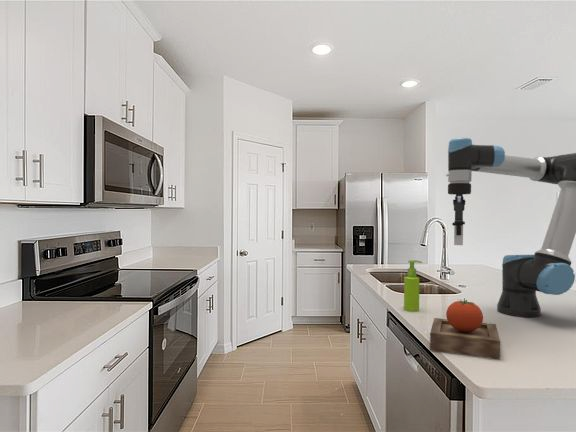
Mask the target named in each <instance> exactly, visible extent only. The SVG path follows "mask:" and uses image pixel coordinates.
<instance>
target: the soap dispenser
mask: <svg viewBox="0 0 576 432" xmlns="http://www.w3.org/2000/svg"><path fill="white" fill-rule="evenodd" d="M407 262H408V263H409V267H408V268H407V276H404V279H403V280H404V281H403V282H404V283H403V285H404V286H403V289H404V290H403V310H404V311H406V310H407V312H419V311H420V277H418V276H417V268H415V263H418V264H423V261H420V260H418V259H417V260H416V259H415V260H413V259H412V260H408V261H407Z"/></svg>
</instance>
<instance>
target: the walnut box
mask: <svg viewBox="0 0 576 432" xmlns="http://www.w3.org/2000/svg"><path fill="white" fill-rule="evenodd" d="M432 321H433V322H432V325H431V329H430V332H429V348H430V349H429V350H430V351H435V352H441V353H449V354H456V355H462V356H463V355H464V356H472V357H479V358H480V357H481V358H485V359H486V358H488V359H494V360H501V339H500V336H499V332H498V329H497V324H495V323H487V322H482V324H481V326H480V327H479V328H478V329H476V330H474V331H471V332H462V331H459V330H457V329H455V328H453V327H452V326H451V325H450V324H449V322H448V320H447V318H439V317H434V318H433V320H432Z"/></svg>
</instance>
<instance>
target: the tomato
mask: <svg viewBox="0 0 576 432" xmlns="http://www.w3.org/2000/svg"><path fill="white" fill-rule="evenodd" d="M445 317H446V319H447V320H448V322H449V324H450V325H451V326H452V327H453V328H455V329H457V330H459V331H462V332H471V331H474V330H476V329H478V328H479V327H480V326H481V324H482V323H484V313H483V310H482V309H481V308H480V307H479V306H478V305H477V304H476V303H475V302H473V301H468V299H466V298H464V299H463V300H462V299H459V300H456V301H454V302H452V303H451V304H449V306H448V307H447V309H446V312H445Z"/></svg>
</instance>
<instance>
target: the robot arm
mask: <svg viewBox="0 0 576 432" xmlns="http://www.w3.org/2000/svg"><path fill="white" fill-rule="evenodd" d="M447 154H448V155H447V165H448V166H447V168H448V171H447V173H446V175H445V176H446V177H448V178H447V182H448V185H447V194H448V195H452V196H453V195H455V196H454V199H453V200H452V204H453V211H454V222H452V223H451V224H452V226H454V227H453V229H454V232H453V234H454V236H453V240H454V241H453V244H454V245H453V246H463V245H464V225H466V222H465V221H464V211H465V206H466V199H464V196H463V195H471V194H472V184H471V182H472V175H473V174H472V172H480V173H485V174H486V173H489V174H496V175H504V176H510V177H520V178H521V177H522V178H529V180H531V181H534V182H539V183H541V182H542V183H547V184H552V185H558V187H559V188H560V190H559V194H558V197H557V200H556V204H555V206H554V209H553V212H552V215H551V218H550V222H549V224H548V228H547V231H546V233H545V237H544V240H543V243H542V245H541V248H540V249H539V250H537V251H535V252H534V254H506V255H504V256H503V257H502V264H501V269H502V272H501V273H502V287H501V294H500V295H499V300H498V302H497V306H496V310H497V312H498V313H499V312H500V313H501V314H503V315H508V316H515V317H524V318H536V317H540V316H541V315H542V310H541V309H542V308H541V306H540V302H539V300H538V297H537V292H540V293H542V294H546V295H553V296H558V295H559V296H560V295H563V294H564V293H567V292H568V291H569V290H571V288H572V287H573V285H574V283H575V280H576V279H575V277H576V276H575V275H576V274H575V273H574V272H575V270H574V269H573V267H571V266H572V261H571V259H570V257H569V255H570V253H571V249H572V246H573V243H574V239H575V236H576V152H574V153H566V154H559V155H554V156H545V157H543V156H535V157H533V158H531V157H522V156H515V155H506V151H505V149H504V148H503V147H502V146H499V145H494V144H492V145H490V144H489V145H485V144H484V145H483V144H482V145H481V144H473V141H472V139H471V138H469V137H456V138H451V139H450V140H449V142H448V150H447Z"/></svg>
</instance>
